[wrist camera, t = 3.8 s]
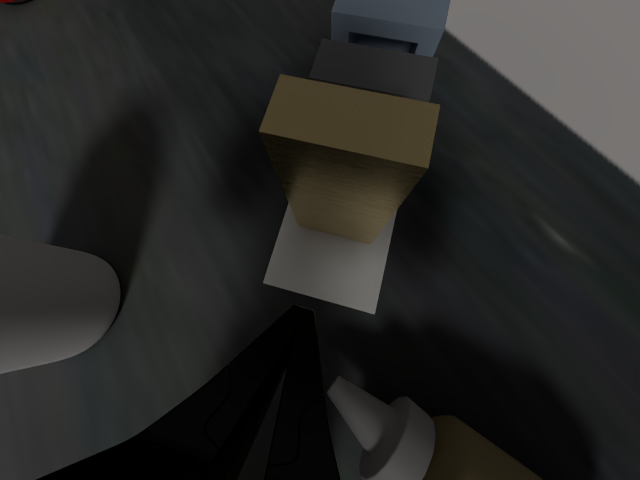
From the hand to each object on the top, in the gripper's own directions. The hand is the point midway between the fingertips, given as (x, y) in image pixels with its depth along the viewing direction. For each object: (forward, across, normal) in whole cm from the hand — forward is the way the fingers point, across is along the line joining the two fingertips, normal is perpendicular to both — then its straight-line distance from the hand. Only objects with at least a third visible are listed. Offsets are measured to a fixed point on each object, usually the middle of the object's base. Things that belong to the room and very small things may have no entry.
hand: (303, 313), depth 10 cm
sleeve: (+16, 0, -4) cm, 16 cm away
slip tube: (+13, 0, -2) cm, 14 cm away
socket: (+20, 0, -9) cm, 22 cm away
